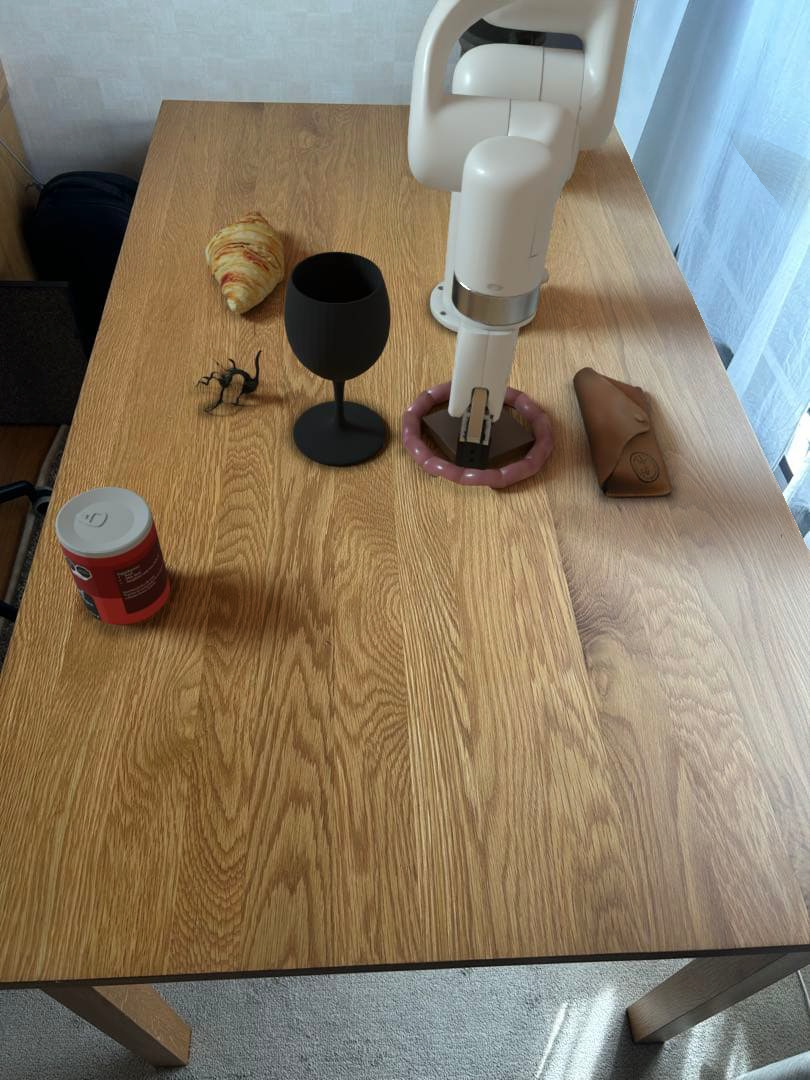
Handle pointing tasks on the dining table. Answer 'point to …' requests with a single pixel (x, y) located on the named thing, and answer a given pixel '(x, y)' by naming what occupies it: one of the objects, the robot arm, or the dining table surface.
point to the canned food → (114, 554)
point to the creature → (248, 382)
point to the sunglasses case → (620, 437)
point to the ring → (474, 476)
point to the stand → (504, 431)
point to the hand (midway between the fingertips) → (474, 442)
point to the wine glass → (337, 350)
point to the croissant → (246, 261)
